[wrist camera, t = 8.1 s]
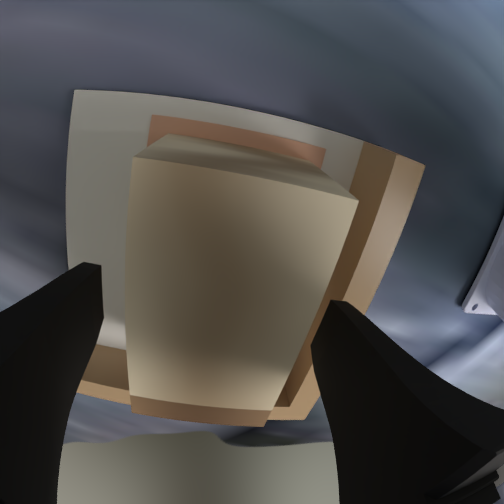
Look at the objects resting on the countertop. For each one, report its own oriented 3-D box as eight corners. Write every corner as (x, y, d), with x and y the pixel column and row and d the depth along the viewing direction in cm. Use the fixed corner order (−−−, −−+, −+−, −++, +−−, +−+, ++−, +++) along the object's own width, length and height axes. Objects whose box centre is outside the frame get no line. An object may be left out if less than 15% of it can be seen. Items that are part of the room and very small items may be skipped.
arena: (384, 148, 11) (425, 165, 9) (294, 377, 17) (304, 419, 14) (80, 89, 9) (39, 91, 7) (83, 348, 15) (67, 389, 12)
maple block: (309, 160, 11) (358, 200, 7) (253, 348, 15) (263, 426, 11) (168, 133, 10) (132, 156, 6) (148, 333, 14) (131, 412, 10)
